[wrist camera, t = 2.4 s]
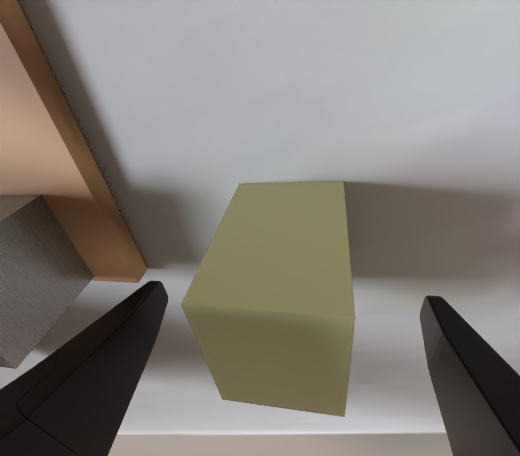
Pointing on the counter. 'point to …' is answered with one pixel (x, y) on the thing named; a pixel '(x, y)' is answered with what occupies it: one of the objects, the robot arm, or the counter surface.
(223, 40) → the counter surface
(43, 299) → the grey cube-like block
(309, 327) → the pale yellow block
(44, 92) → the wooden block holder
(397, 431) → the counter surface
